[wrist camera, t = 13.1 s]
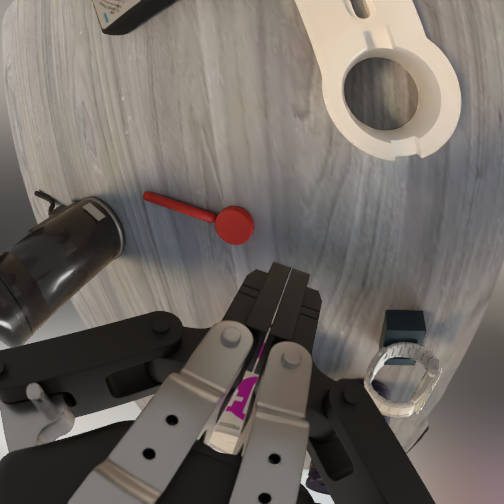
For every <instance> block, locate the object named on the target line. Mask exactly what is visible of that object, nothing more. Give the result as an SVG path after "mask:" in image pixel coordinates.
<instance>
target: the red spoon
mask: <svg viewBox="0 0 504 504" xmlns="http://www.w3.org/2000/svg"><path fill="white" fill-rule="evenodd" d="M143 199H144V200H146V201H149V202H152V203H155V204H158V205H161V206H164V207H166V208H169V209H172V210H175V211H178V212H181V213H184V214H187V215H190V216H193V217H196V218H198V219H201V220H204V221H207V222H210V223H213V222H215V228H216V231H217V233H218V235H219V236H220V237H221V238H222V239H223V240H224V241H225V242H227V243H230V244H234V245H239V244H243V243H245V242H246V241H247V240H248V239H249V238H250V236H251V235H252V233H253V230H254V223H253V219H252V217H251V216H250V214H249V213H248V212H247V211H246V210H244V209H242V208H240V207H236V206H230V207H227V208H225V209H223V210H222V211H221V212H220V213H219V214H218V215H217V217H216V215H215V214H214V213H211V212H208V211H205V210H202V209H199V208H196V207H193V206H190V205H187V204H184V203H181V202H178V201H175V200H172V199H169V198H166V197H163V196H160V195H157V194H154V193H151V192H145V193H144V194H143Z"/></svg>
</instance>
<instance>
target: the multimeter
mask: <svg viewBox="0 0 504 504" xmlns="http://www.w3.org/2000/svg"><path fill="white" fill-rule="evenodd" d="M92 1H93V4H94V8H95V11H96V14H97V17H98V20H99V23H100V26H101V29H102V32H103V33H104V34H108V35H124V34H126V33H128V32H129V31H130V30H132V29H133V28H134V27H136V26H137V25H138V24H140V23H141V22H143V21H144V20H145V19H147V18H148V17H150V16H151V15H153V14H154V13H156V12H157V11H159V10H160V9H162V8H163V7H165V6H166V5H168V4H169V3H171V2H173V1H174V0H92Z"/></svg>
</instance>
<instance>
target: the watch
mask: <svg viewBox="0 0 504 504" xmlns="http://www.w3.org/2000/svg"><path fill="white" fill-rule="evenodd" d="M425 333H426V327H425V321H424V315H423V311H400V310H386V312H385V318H384V323H383V328H382V333H381V338H380V343H379V352H378V353H377V354H376V355H375V356H374V358H373V359H372V361H371V362H370V364H369V366H368V368H367V371H366V374H365V378H364V384H365V385H364V387H365V388H366V390H367V391H368V393H369V394H370V396H371V398H372V399H373V401H374V402H375V404H376V406H377V407H378V409H379V410H380V412H381V414H383V415H385V416H389V417H395V418H398V417H399V418H401V417H408V416H410V415H411V414H413V413H414V412H416V414H418V413H419V412H420V411H421V409H422V408H423V406H424V405H425V403H426V401H427V399H428V398H429V396H430V394H431V392H432V391H433V389H434V387H435V385H436V383H437V381H438V379H439V377H440V375H441V372H442V369H441V368H440V369H439V360H438V359H437V358H436V357H435V356H434V354H433V353H432V352H431V351H430V350H429V351H428V349H427V348H425V347H424V346H422V347H421V345H422V342H423V339H424V336H425ZM416 360H417V362H419V363H420V364H421V365H422V364H423V367H424V368H425V369H426V370H427V371H426V372H425V374H424V376H423V378H422V379H421V381H420V383H419V385H418V386H417V388H416V390H415V392H414V394H413V396H412V397H411V399H410V401H409V402H407V403H398V402H396V403H395V404H394V402H393V401H390V400H386V399H385V398H383V397H382V396H380V395H379V394H378V393H377V392H376V391H375V390H373V387H372V385H371V382H372V380H373V378H374V376H375V374H376V373H377V372H378V370H379V369H380V368H381V367H382V366H383V365H415V362H416ZM378 395H379V396H378ZM381 403H382V404H381ZM389 408H390V409H389ZM388 410H389V411H388Z"/></svg>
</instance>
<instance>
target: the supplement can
mask: <svg viewBox="0 0 504 504" xmlns="http://www.w3.org/2000/svg"><path fill="white" fill-rule="evenodd" d="M270 329H271V328H269V330H268V332H267V335H266V338H265V340H264V343H263V345H262V348H261V351H260V353H259V356H258V358H257V361H256V363H255V366H254V368H253V371H252V372H249V371H246V373H245V375H244V378H243V380H242V382H241V384H240V385H239V386H238V388H237V390H236V392H235V394H234V396H233V397H232V399H231V401H230V403H229V405H228V407H227V408H226V410H225V412H224V414H223V416H222V417H221V419H220V421H219V423H218V425H217V426H216V428H215V430H214V432H213V434H212V437H211V439H210V441H209V443H208V444H209V445H211V446H212V447H214V448H215V449H217V450H219V451H221V452H223V453H226V454H232V453H233V451H234V448H235V445H236V443H237V440H238V437H239V434H240V431H241V428H242V424H243V421H244V418H245V414H246V411H247V407H248V404H249V401H250V397H251V394H252V391H253V389H254V387H255V384H256V382H257V379H258V376H259V375H258V374H255V373H254V371H255V368H256V366H257V363H258V361H259V358H260V356H261V353H262V350H263V348H264V345H265V342H266V340H267V337H268V334H269V332H270Z"/></svg>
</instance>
